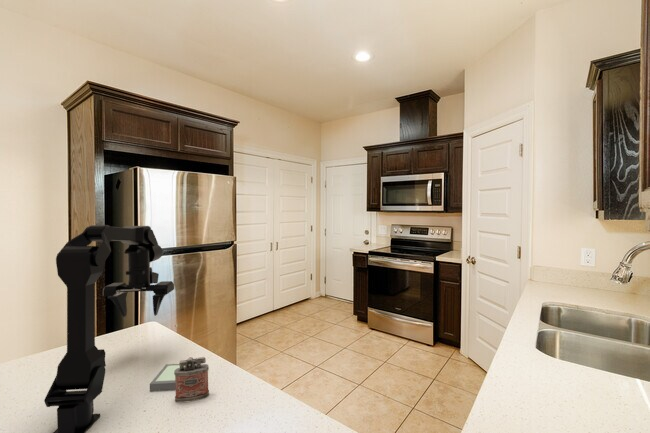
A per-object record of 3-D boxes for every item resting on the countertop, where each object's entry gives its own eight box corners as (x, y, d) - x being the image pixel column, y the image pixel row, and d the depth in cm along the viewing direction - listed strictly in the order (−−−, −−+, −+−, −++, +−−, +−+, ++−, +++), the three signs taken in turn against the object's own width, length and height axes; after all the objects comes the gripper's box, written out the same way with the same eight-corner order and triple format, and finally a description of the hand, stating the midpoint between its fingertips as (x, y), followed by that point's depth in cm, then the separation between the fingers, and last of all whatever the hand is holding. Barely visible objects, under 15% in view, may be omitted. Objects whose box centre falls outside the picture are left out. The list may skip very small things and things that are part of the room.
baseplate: (189, 389, 81) (188, 381, 81) (149, 391, 80) (149, 383, 80) (200, 369, 91) (200, 362, 91) (166, 371, 90) (165, 364, 90)
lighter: (173, 404, 75) (172, 364, 75) (176, 395, 79) (175, 357, 78) (208, 398, 78) (207, 359, 77) (209, 390, 81) (209, 353, 80)
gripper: (180, 260, 104) (181, 306, 104) (122, 262, 102) (123, 308, 103) (166, 267, 93) (167, 318, 93) (100, 268, 91) (102, 320, 91)
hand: (140, 315), depth 95 cm, fingers open, 9 cm apart
